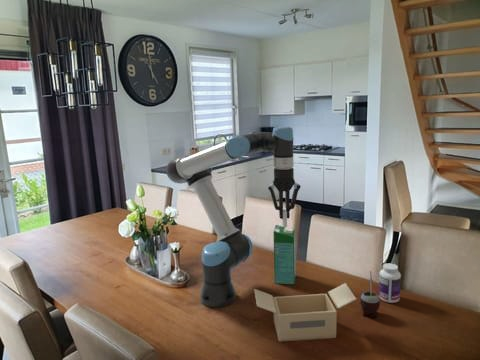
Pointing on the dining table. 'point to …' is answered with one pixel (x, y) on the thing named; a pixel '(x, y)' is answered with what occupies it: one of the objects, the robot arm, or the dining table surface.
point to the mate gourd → (370, 302)
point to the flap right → (341, 296)
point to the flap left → (265, 301)
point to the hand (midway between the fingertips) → (284, 226)
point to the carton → (304, 317)
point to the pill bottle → (389, 283)
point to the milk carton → (284, 255)
